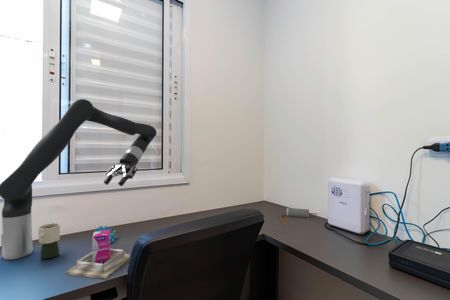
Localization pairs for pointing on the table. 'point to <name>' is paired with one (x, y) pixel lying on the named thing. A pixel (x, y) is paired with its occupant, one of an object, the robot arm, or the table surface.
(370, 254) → the table surface
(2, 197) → the robot arm
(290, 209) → the motor
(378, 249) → the table surface
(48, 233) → the character mug
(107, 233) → the supplement box
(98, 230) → the gear
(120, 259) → the plate
